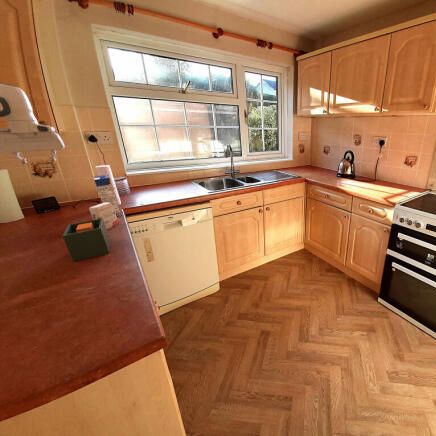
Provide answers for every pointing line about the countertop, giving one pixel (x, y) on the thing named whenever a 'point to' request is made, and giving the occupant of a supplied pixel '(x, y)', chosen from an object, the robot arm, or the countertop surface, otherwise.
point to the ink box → (104, 214)
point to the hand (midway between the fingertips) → (39, 162)
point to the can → (122, 186)
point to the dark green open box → (87, 240)
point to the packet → (84, 227)
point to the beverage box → (107, 192)
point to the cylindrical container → (107, 171)
